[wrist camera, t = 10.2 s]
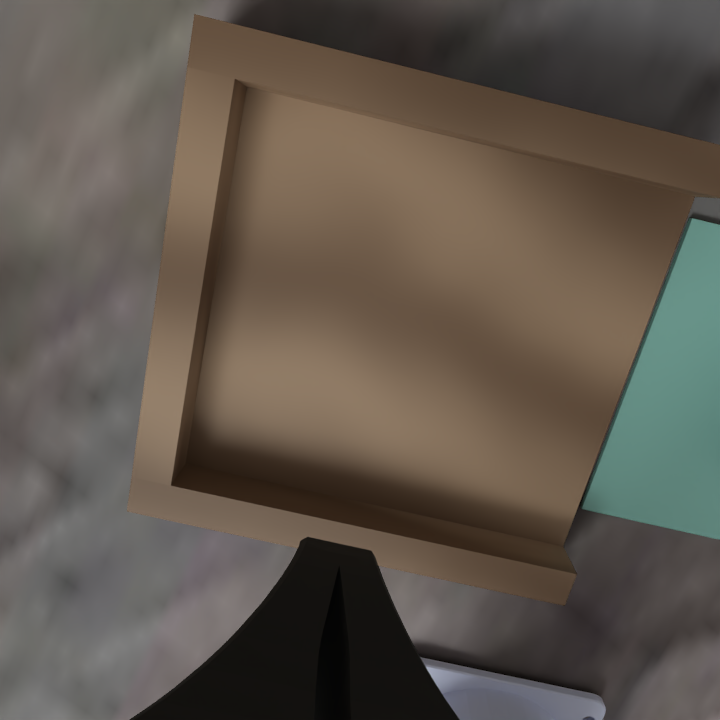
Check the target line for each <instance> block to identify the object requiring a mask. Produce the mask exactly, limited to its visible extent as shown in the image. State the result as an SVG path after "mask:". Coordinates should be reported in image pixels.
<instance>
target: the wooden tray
mask: <svg viewBox="0 0 720 720" xmlns="http://www.w3.org/2000/svg"><path fill="white" fill-rule="evenodd" d="M695 197H708V198H720V145H718V144H714V143H710V142H706V141H702V140H698V139H694V138H690V137H686V136H682V135H678V134H674V133H670V132H666V131H662V130H658V129H654V128H650V127H646V126H642V125H638V124H634V123H630V122H626V121H622V120H618V119H614V118H610V117H606V116H601V115H597V114H593V113H589V112H585V111H581V110H577V109H573V108H569V107H565V106H561V105H557V104H553V103H549V102H545V101H541V100H537V99H533V98H529V97H525V96H521V95H517V94H513V93H509V92H505V91H501V90H497V89H493V88H489V87H485V86H481V85H477V84H473V83H469V82H465V81H461V80H457V79H453V78H449V77H445V76H441V75H437V74H433V73H429V72H425V71H421V70H417V69H413V68H409V67H405V66H401V65H397V64H393V63H389V62H385V61H381V60H376V59H372V58H368V57H364V56H360V55H356V54H352V53H348V52H344V51H340V50H336V49H332V48H328V47H324V46H320V45H316V44H312V43H308V42H304V41H300V40H296V39H292V38H288V37H284V36H280V35H276V34H272V33H268V32H264V31H260V30H256V29H252V28H248V27H244V26H240V25H236V24H232V23H228V22H224V21H220V20H216V19H212V18H208V17H204V16H200V15H196V14H194V21H193V29H192V36H191V43H190V51H189V58H188V66H187V73H186V80H185V88H184V95H183V102H182V110H181V117H180V124H179V132H178V139H177V146H176V154H175V161H174V169H173V176H172V183H171V191H170V198H169V205H168V213H167V220H166V227H165V235H164V242H163V250H162V257H161V264H160V272H159V279H158V286H157V294H156V301H155V308H154V316H153V323H152V330H151V338H150V345H149V353H148V360H147V367H146V375H145V382H144V389H143V397H142V404H141V411H140V419H139V426H138V434H137V441H136V448H135V456H134V463H133V470H132V478H131V485H130V492H129V500H128V507H127V512H132V513H137V514H141V515H146V516H151V517H155V518H160V519H165V520H169V521H174V522H178V523H183V524H188V525H192V526H197V527H202V528H206V529H211V530H216V531H220V532H225V533H229V534H234V535H239V536H243V537H248V538H253V539H257V540H262V541H267V542H271V543H276V544H280V545H285V546H290V547H294V548H298V547H299V543H300V541H301V540H302V539H304V538H306V537H311V538H316V539H321V540H325V541H330V542H334V543H339V544H344V545H348V546H353V547H358V548H362V549H367V550H371V551H372V552H373V554H374V556H375V557H376V560H377V563H378V566H382V567H387V568H392V569H396V570H401V571H406V572H410V573H415V574H419V575H424V576H429V577H433V578H438V579H443V580H447V581H452V582H457V583H461V584H466V585H470V586H475V587H480V588H484V589H489V590H494V591H498V592H503V593H508V594H512V595H517V596H521V597H526V598H531V599H535V600H540V601H545V602H549V603H554V604H559V605H563V606H565V604H566V601H567V599H568V596H569V594H570V591H571V588H572V586H573V583H574V581H575V578H576V576H577V573H576V571H575V569H574V567H573V565H572V563H571V561H570V559H569V557H568V555H567V553H566V551H565V549H564V547H563V546H564V543H565V540H566V538H567V535H568V532H569V530H570V527H571V524H572V522H573V519H574V516H575V514H576V511H577V508H578V506H579V503H580V500H581V498H582V495H583V493H584V490H585V487H586V485H587V482H588V479H589V477H590V474H591V471H592V469H593V466H594V463H595V461H596V458H597V455H598V453H599V450H600V447H601V445H602V442H603V440H604V437H605V434H606V432H607V429H608V426H609V424H610V421H611V418H612V416H613V413H614V410H615V408H616V405H617V402H618V400H619V397H620V394H621V392H622V389H623V386H624V384H625V381H626V379H627V376H628V373H629V371H630V368H631V365H632V363H633V360H634V357H635V355H636V352H637V349H638V347H639V344H640V341H641V339H642V336H643V333H644V331H645V328H646V326H647V323H648V320H649V318H650V315H651V312H652V310H653V307H654V304H655V302H656V299H657V296H658V294H659V291H660V288H661V286H662V283H663V280H664V278H665V275H666V272H667V270H668V267H669V265H670V262H671V259H672V257H673V254H674V251H675V249H676V246H677V243H678V241H679V238H680V235H681V233H682V230H683V227H684V225H685V222H686V219H687V217H688V214H689V212H690V209H691V206H692V204H693V201H694V198H695Z"/></svg>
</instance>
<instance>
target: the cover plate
mask: <svg viewBox="0 0 720 720" xmlns="http://www.w3.org/2000/svg"><path fill="white" fill-rule="evenodd" d="M580 507H581V508H582V509H584V510H588V511H593V512H597V513H602V514H606V515H611V516H615V517H620V518H624V519H629V520H633V521H638V522H642V523H647V524H651V525H656V526H660V527H665V528H669V529H674V530H678V531H683V532H687V533H692V534H696V535H701V536H705V537H710V538H714V539H719V540H720V225H718V224H714V223H710V222H705V221H701V220H697V219H693V218H689V220H688V222H687V225H686V228H685V230H684V233H683V236H682V238H681V241H680V244H679V246H678V249H677V252H676V254H675V257H674V259H673V262H672V265H671V267H670V270H669V273H668V275H667V278H666V281H665V283H664V286H663V289H662V291H661V294H660V297H659V299H658V302H657V305H656V307H655V310H654V312H653V315H652V318H651V320H650V323H649V326H648V328H647V331H646V334H645V336H644V339H643V342H642V344H641V347H640V350H639V352H638V355H637V357H636V360H635V363H634V365H633V368H632V371H631V373H630V376H629V379H628V381H627V384H626V387H625V389H624V392H623V395H622V397H621V400H620V403H619V405H618V408H617V410H616V413H615V416H614V418H613V421H612V424H611V426H610V429H609V432H608V434H607V437H606V440H605V442H604V445H603V448H602V450H601V453H600V455H599V458H598V461H597V463H596V466H595V469H594V471H593V474H592V477H591V479H590V482H589V485H588V487H587V490H586V493H585V495H584V498H583V501H582V503H581V506H580Z"/></svg>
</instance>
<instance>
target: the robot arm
mask: <svg viewBox="0 0 720 720" xmlns="http://www.w3.org/2000/svg"><path fill="white" fill-rule="evenodd" d="M605 712H606V707H605V705H604V702H603V700H602V698H601V697H600V696H599V695H596V694H593V693H588V692H583V691H579V690H574V689H569V688H564V687H560V686H555V685H550V684H545V683H541V682H536V681H531V680H526V679H522V678H517V677H512V676H507V675H503V674H498V673H493V672H488V671H484V670H479V669H474V668H469V667H465V666H460V665H455V664H450V663H446V662H441V661H436V660H431V659H426V658H422V657H420V656H419V654H418V652H417V650H416V649H415V647H414V645H413V643H412V641H411V639H410V637H409V635H408V633H407V631H406V629H405V627H404V625H403V623H402V621H401V619H400V617H399V615H398V612H397V610H396V608H395V606H394V604H393V601H392V599H391V597H390V594H389V592H388V590H387V587H386V585H385V582H384V580H383V577H382V574H381V572H380V569H379V566H378V563H377V560H376V557H375V556H374V554H373V552H372V551H371V550H367V549H362V548H358V547H353V546H348V545H344V544H339V543H334V542H330V541H325V540H321V539H316V538H311V537H306V538H304V539H302V540H301V541H300V543H299V547H298V549H297V551H296V553H295V555H294V557H293V559H292V561H291V562H290V564H289V566H288V567H287V569H286V570H285V572H284V574H283V575H282V577H281V578H280V579H279V581H278V582H277V583H276V585H275V586H274V587H273V589H272V590H271V591H270V593H269V594H268V595H267V597H266V598H265V599H264V601H263V602H262V603H261V604H260V606H259V607H258V608H257V609H256V610H255V611H254V612H253V614H252V615H251V616H250V617H249V618H248V619H247V620H246V621H245V623H244V624H243V625H242V626H241V627H240V628H239V629H238V630H237V631H236V633H235V634H234V635H233V636H232V637H231V638H230V639H229V640H228V641H227V642H226V643H225V644H224V645H223V646H222V647H221V648H220V649H219V650H217V651H216V652H215V653H214V654H213V655H212V656H211V657H210V658H209V659H208V660H207V661H206V662H204V663H203V664H202V665H201V666H200V667H199V668H198V669H196V670H195V671H194V672H193V673H192V674H190V675H189V676H188V677H187V678H186V679H184V680H183V681H182V682H181V683H180V684H178V685H177V686H176V687H175V688H173V689H172V690H171V691H169V692H168V693H167V694H166V695H164V696H163V697H162V698H160V699H159V700H158V701H156V702H155V703H153V704H152V705H150V706H149V707H147V708H146V709H145V710H143V711H142V712H140V713H139V714H137V715H136V716H134V717H133V718H131V719H130V720H603V717H604V715H605ZM587 716H590V717H589V718H585V717H587Z"/></svg>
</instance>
